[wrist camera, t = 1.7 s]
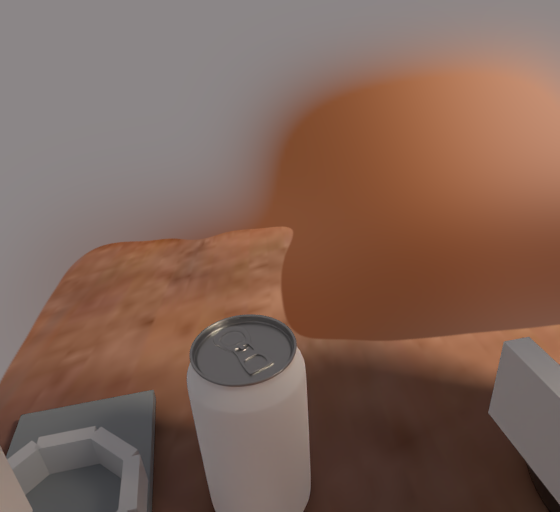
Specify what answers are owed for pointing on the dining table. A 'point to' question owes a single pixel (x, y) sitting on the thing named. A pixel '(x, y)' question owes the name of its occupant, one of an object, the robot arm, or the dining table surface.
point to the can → (251, 415)
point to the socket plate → (88, 456)
